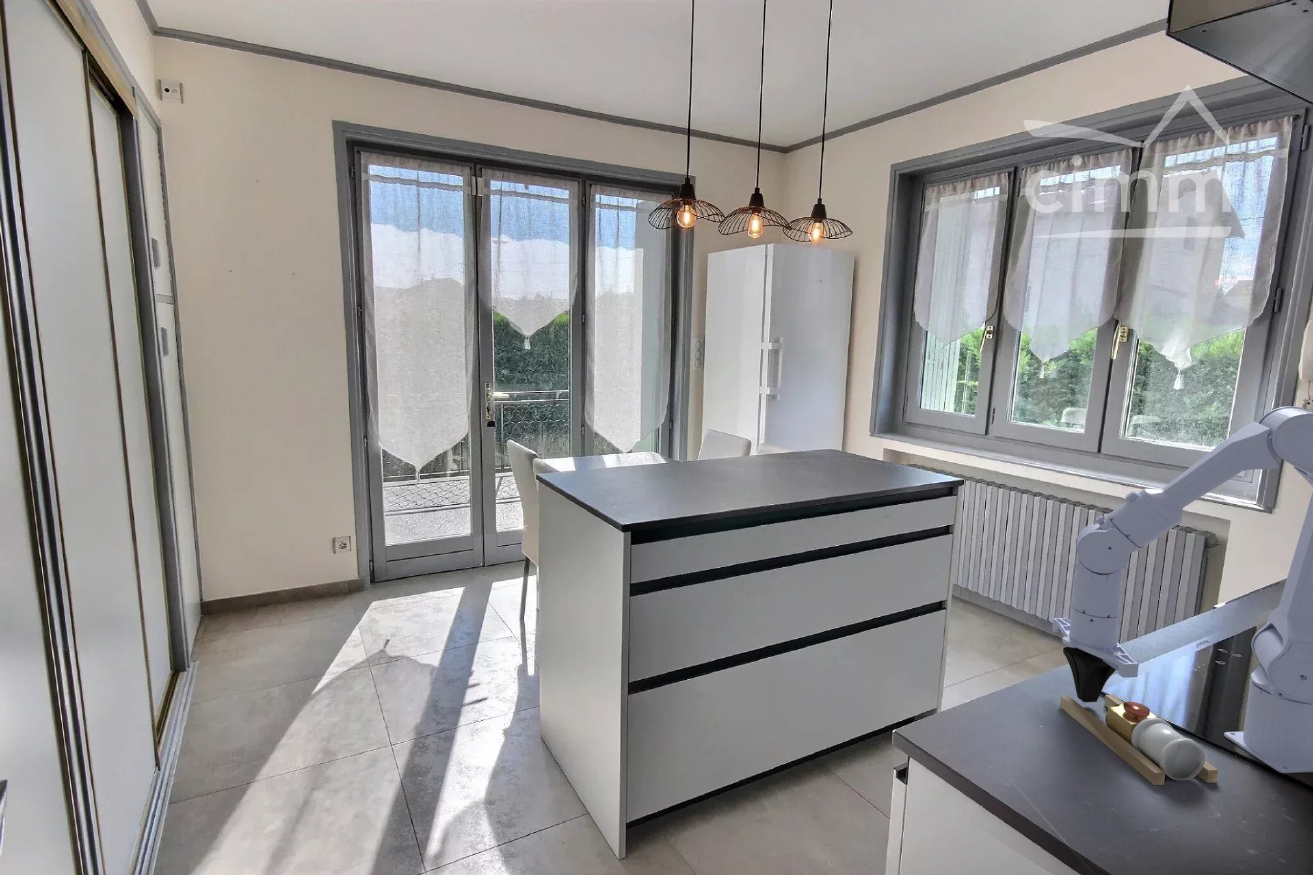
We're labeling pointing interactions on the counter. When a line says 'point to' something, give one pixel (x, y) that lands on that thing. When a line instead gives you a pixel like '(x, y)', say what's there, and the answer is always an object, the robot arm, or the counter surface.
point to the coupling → (1168, 749)
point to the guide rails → (1124, 742)
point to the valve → (1126, 718)
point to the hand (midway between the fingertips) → (1087, 699)
